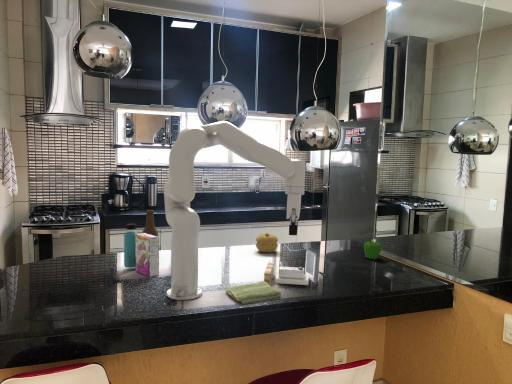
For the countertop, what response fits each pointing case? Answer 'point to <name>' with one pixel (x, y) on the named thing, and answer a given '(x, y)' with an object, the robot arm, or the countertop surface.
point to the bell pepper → (372, 250)
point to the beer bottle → (150, 224)
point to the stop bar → (291, 272)
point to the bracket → (292, 280)
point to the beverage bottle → (130, 247)
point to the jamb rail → (268, 273)
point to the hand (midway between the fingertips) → (293, 232)
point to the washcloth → (253, 292)
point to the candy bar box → (147, 254)
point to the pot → (266, 243)
